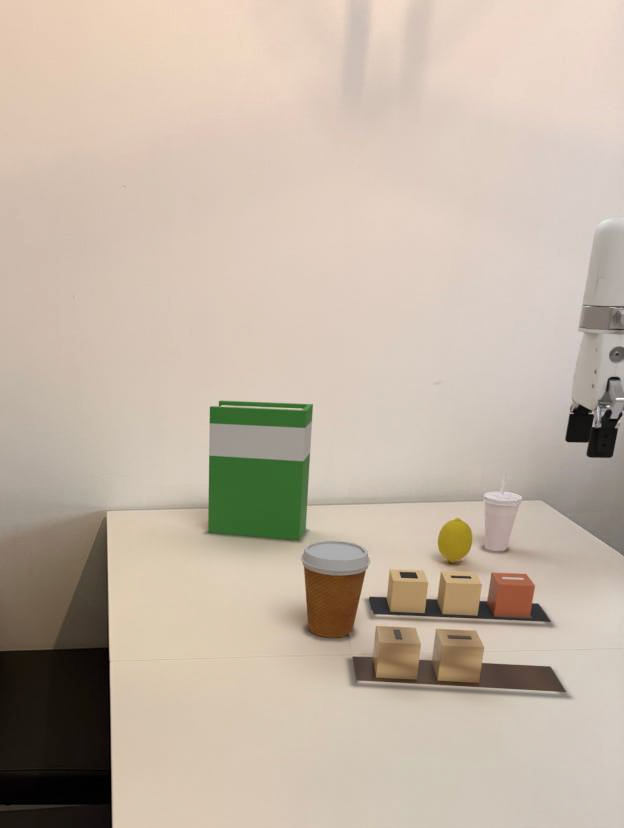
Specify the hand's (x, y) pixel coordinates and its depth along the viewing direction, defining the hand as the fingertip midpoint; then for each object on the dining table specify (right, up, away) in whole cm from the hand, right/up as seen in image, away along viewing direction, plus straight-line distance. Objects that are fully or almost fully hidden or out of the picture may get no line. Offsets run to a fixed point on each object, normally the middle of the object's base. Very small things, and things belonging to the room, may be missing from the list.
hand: (587, 449), depth 120 cm
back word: (-15, -23, +10) cm, 29 cm away
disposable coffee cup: (-35, -25, +4) cm, 43 cm away
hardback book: (-40, -7, +48) cm, 63 cm away
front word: (-22, -31, -10) cm, 39 cm away
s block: (-8, -22, +8) cm, 25 cm away
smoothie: (+2, -11, +36) cm, 38 cm away
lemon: (-8, -14, +29) cm, 34 cm away
